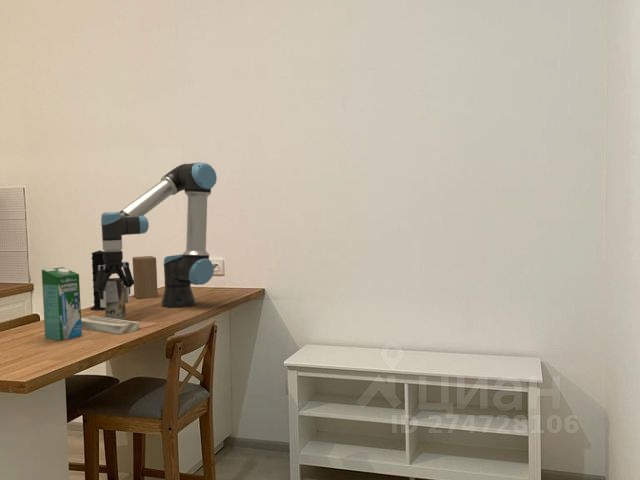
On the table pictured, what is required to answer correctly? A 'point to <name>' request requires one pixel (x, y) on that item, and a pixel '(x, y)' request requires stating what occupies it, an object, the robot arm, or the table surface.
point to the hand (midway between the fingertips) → (115, 305)
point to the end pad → (146, 324)
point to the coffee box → (115, 298)
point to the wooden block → (145, 277)
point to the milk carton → (61, 303)
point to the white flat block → (109, 325)
